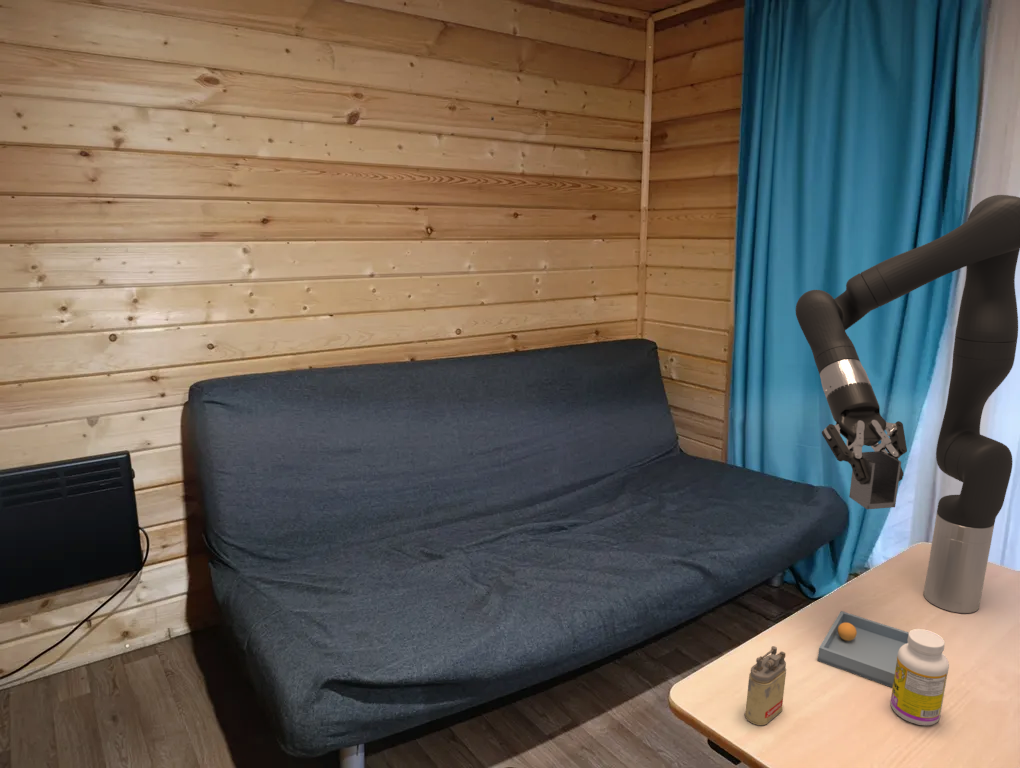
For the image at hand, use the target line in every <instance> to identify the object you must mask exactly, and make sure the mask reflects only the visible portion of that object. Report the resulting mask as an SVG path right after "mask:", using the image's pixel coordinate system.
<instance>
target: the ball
mask: <svg viewBox="0 0 1020 768" xmlns="http://www.w3.org/2000/svg"><path fill="white" fill-rule="evenodd" d="M838 634H839V636H840V637H841V638H842V639H844V640H846V641H850V640H853V639H854V638H855V637H856V634H857V631H856V628H855V627H854V626H853V625H852V624H850V623H842V624H840V625H839V627H838Z"/></svg>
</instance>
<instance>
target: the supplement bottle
mask: <svg viewBox="0 0 1020 768" xmlns="http://www.w3.org/2000/svg"><path fill="white" fill-rule="evenodd" d="M908 632H909V634H908V639H907V640H908V643H907V644H904V645H903V646H901V647H900V649H899V651H898V656H897V663H896V669H895V675H894V681H893V688H892V689H891V694H890V696H891V697H890V706H891V708H892V710H893V711H894V713H895V714H896V715H897V716H899V717H900V718H901V719H902V720H904V721H906V722H908V723H912V724H914V725H915V724H916V725H917V726H918V725H920V726H932V725H935V724H936V723H938V722H939V720H940V718H941V713H942V708H943V703H944V696H945V692H946V691H945V690H946V687H947V686H946V684H947V678H948V673H949V668H950V663H949V660H948V657H947V656H946V655H945V654H944V653H943V652H944V651H945V645H946V643H945V642H946V641H945V640H944V638H943V637H942V636H941V635H939V634H938V633H936V632H934V631H931V630H928V629H923V628H914V629H911V630H910V631H908Z"/></svg>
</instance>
